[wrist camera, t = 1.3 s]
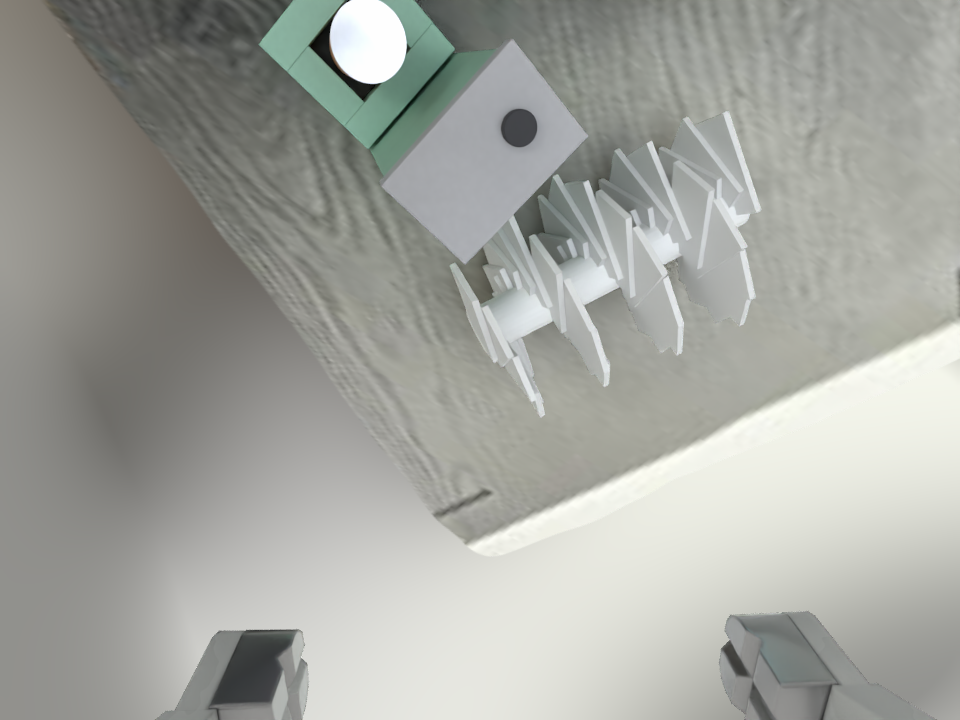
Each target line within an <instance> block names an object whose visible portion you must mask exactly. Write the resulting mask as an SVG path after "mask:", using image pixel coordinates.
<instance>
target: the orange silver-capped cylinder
mask: <svg viewBox="0 0 960 720" xmlns="http://www.w3.org/2000/svg"><path fill="white" fill-rule="evenodd" d="M329 47H330V53H331V56H332V59H333V61H334V63H335V64H336V66H337V67H338V68H339V70H340V71H341V72H343V73H344V74H345V75H347V76H349V77H350V78H353V79H355V80H357V81H359V82H362V83H366V84H378V83H382V82H385V81H387V80H389V79H390V78H392V77H393V76H394V75H395V74H396V73H397V72H398V71H399V69H400V68H401V66H402V64H403V62H404V59H405V55H406V49H407V42H406V35H405V31H404V28H403V25H402V23H401V21H400V19H399V18H398V16H397V15H396V13H395V12H394V11H393V10H392V9H391V8H390V7H389V6H387V5H386V4H385V3H383V2H381V1H379V0H350V1H349V2H347V3H345V4H344V5H343V6H342V7H341V8H340V9H339V10H338V12H337V13H336V15H335V17H334V19H333V21H332V24H331V29H330V41H329Z"/></svg>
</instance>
